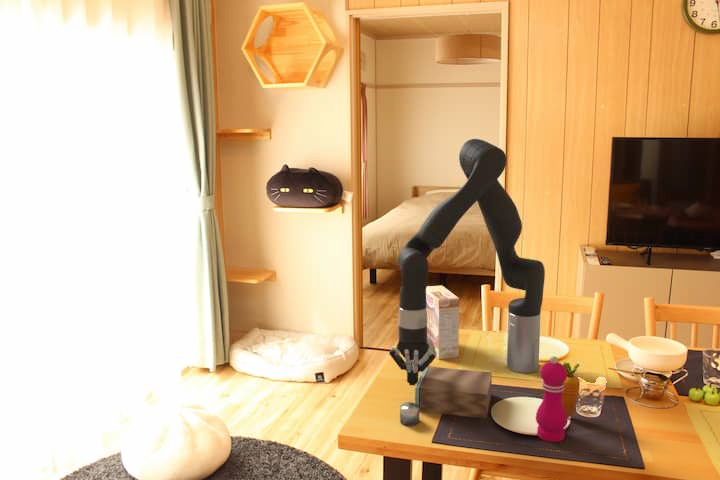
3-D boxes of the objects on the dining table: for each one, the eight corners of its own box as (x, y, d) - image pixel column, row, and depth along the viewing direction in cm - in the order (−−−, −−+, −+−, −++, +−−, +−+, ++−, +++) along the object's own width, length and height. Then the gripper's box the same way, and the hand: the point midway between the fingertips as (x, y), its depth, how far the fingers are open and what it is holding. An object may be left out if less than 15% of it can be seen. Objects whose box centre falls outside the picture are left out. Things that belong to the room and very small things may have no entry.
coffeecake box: (422, 343, 215) (422, 286, 211) (442, 341, 217) (442, 284, 213) (438, 360, 201) (438, 299, 197) (459, 357, 203) (460, 297, 199)
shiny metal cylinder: (420, 418, 164) (420, 403, 164) (417, 427, 160) (417, 412, 159) (402, 415, 166) (402, 401, 165) (398, 424, 161) (398, 409, 160)
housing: (491, 394, 177) (491, 372, 175) (486, 418, 164) (487, 394, 162) (429, 388, 181) (429, 366, 180) (420, 411, 168) (420, 387, 167)
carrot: (578, 415, 164) (581, 359, 161) (576, 424, 160) (579, 367, 157) (558, 411, 166) (561, 356, 163) (555, 420, 162) (558, 364, 159)
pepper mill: (567, 430, 157) (571, 352, 153) (566, 445, 150) (570, 364, 146) (536, 426, 159) (539, 349, 155) (534, 440, 152) (537, 360, 148)
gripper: (385, 325, 169) (385, 387, 173) (435, 329, 166) (434, 392, 170) (391, 316, 177) (392, 376, 180) (440, 320, 173) (439, 381, 177)
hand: (412, 384), depth 175 cm, fingers closed
